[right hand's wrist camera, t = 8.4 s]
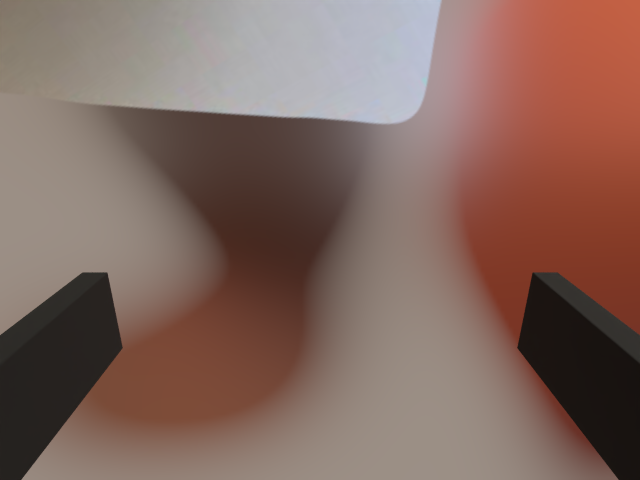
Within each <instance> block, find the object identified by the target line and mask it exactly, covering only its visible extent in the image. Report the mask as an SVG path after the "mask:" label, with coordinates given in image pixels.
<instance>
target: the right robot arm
mask: <svg viewBox="0 0 640 480" xmlns="http://www.w3.org/2000/svg"><path fill="white" fill-rule="evenodd" d="M517 348H518V349H519V351H520V352H521V353H522V355H523V356H524V357H525V359H526V360H527V361H528V362H529V364H530V365H531V366H532V368H533V369H534V370H535V371H536V373H537V374H538V375H539V377H540V378H541V379H542V381H543V382H544V383H545V385H546V386H547V387H548V388H549V390H550V391H551V392H552V394H553V395H554V396H555V397H556V399H557V400H558V401H559V403H560V404H561V405H562V407H563V408H564V409H565V410H566V412H567V413H568V414H569V416H570V417H571V418H572V419H573V421H574V422H575V423H576V425H577V426H578V427H579V429H580V430H581V431H582V433H583V434H584V435H585V436H586V438H587V439H588V440H589V442H590V443H591V444H592V446H593V447H594V448H595V449H596V451H597V452H598V453H599V455H600V456H601V457H602V459H603V460H604V461H605V462H606V464H607V465H608V466H609V468H610V469H611V470H612V472H613V473H614V474H615V475H616V477H617V478H618V479H619V480H640V335H639V334H637V333H636V332H635V331H633V330H632V329H631V328H629V327H628V326H627V325H626V324H624V323H623V322H622V321H620V320H619V319H618V318H616V317H615V316H614V315H612V314H611V313H610V312H609V311H607V310H606V309H605V308H603V307H602V306H601V305H599V304H598V303H597V302H595V301H594V300H593V299H591V298H590V297H589V296H588V295H586V294H585V293H584V292H582V291H581V290H580V289H578V288H577V287H576V286H574V285H573V284H572V283H570V282H569V281H568V280H566V279H565V278H564V277H563V276H561V275H560V274H559V273H532V278H531V283H530V288H529V293H528V298H527V303H526V308H525V313H524V318H523V323H522V328H521V333H520V338H519V343H518V347H517ZM121 349H122V343H121V338H120V333H119V328H118V323H117V318H116V313H115V308H114V303H113V298H112V293H111V288H110V283H109V278H108V274H107V273H81V274H80V275H79V276H77V277H76V278H75V279H73V280H72V281H71V282H70V283H68V284H67V285H66V286H64V287H63V288H62V289H60V290H59V291H58V292H56V293H55V294H54V295H52V296H51V297H50V298H49V299H47V300H46V301H45V302H43V303H42V304H41V305H39V306H38V307H37V308H35V309H34V310H33V311H32V312H30V313H29V314H28V315H26V316H25V317H24V318H22V319H21V320H20V321H18V322H17V323H16V324H14V325H13V326H12V327H10V328H9V329H8V330H7V331H5V332H4V333H3V334H1V335H0V480H21V479H22V478H23V477H24V475H25V474H26V473H27V472H28V470H29V469H30V468H31V466H32V465H33V464H34V462H35V461H36V460H37V458H38V457H39V456H40V455H41V453H42V452H43V451H44V449H45V448H46V447H47V446H48V444H49V443H50V442H51V440H52V439H53V438H54V436H55V435H56V434H57V433H58V431H59V430H60V429H61V427H62V426H63V425H64V423H65V422H66V421H67V420H68V418H69V417H70V416H71V414H72V413H73V412H74V411H75V409H76V408H77V407H78V405H79V404H80V403H81V401H82V400H83V399H84V398H85V396H86V395H87V394H88V392H89V391H90V390H91V388H92V387H93V386H94V385H95V383H96V382H97V381H98V379H99V378H100V377H101V375H102V374H103V373H104V372H105V370H106V369H107V368H108V366H109V365H110V364H111V362H112V361H113V360H114V358H115V357H116V356H117V355H118V353H119V352H120V351H121Z"/></svg>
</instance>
